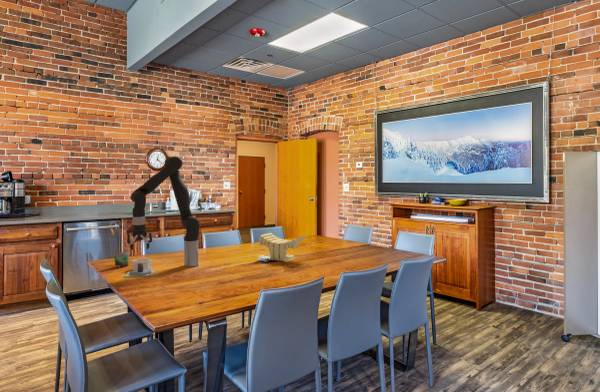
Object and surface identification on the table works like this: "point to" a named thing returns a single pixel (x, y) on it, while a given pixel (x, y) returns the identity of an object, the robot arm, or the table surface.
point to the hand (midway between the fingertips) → (140, 249)
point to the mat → (142, 275)
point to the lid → (140, 271)
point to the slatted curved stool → (279, 246)
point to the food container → (121, 259)
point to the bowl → (145, 262)
